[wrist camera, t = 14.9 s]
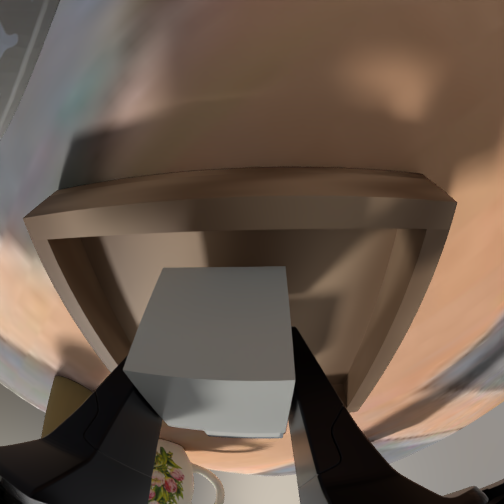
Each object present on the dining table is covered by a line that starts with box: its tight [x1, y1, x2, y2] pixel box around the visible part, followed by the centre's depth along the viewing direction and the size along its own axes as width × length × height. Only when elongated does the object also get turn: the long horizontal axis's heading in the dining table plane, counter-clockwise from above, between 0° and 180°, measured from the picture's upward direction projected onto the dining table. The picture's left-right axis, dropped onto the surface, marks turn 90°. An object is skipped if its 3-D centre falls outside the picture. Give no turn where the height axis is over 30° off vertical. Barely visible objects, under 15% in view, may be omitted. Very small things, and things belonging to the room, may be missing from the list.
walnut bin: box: [23, 167, 457, 412], centre depth 12 cm, size 15×15×2 cm
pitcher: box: [148, 439, 224, 504], centre depth 26 cm, size 11×18×14 cm, turn 71°
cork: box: [41, 376, 93, 438], centre depth 18 cm, size 6×6×11 cm
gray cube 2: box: [123, 266, 295, 433], centre depth 8 cm, size 4×4×4 cm
